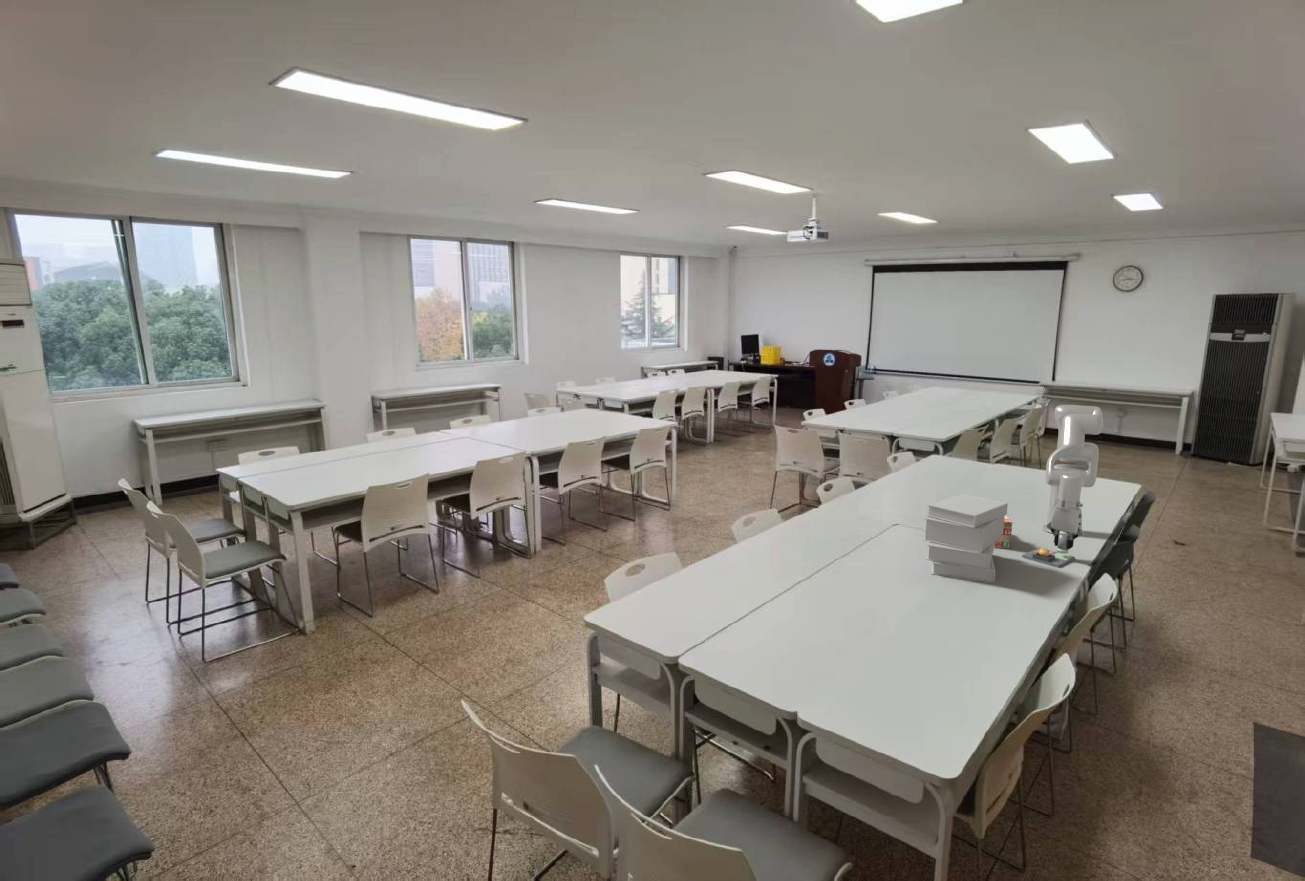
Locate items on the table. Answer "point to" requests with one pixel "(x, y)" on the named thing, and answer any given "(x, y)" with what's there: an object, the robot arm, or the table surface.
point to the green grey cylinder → (1062, 542)
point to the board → (1049, 558)
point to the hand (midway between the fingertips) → (1063, 546)
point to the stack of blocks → (1005, 535)
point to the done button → (1044, 552)
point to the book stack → (964, 536)
